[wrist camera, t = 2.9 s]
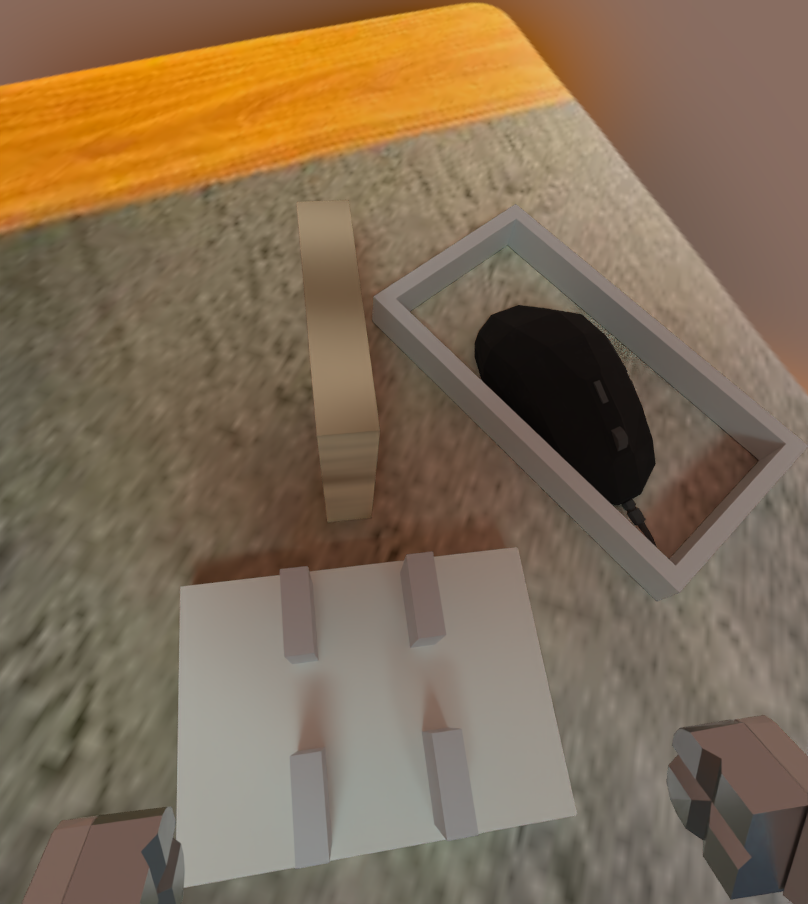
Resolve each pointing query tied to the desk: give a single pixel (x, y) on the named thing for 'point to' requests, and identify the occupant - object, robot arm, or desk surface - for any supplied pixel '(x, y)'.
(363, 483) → the tan upright panel
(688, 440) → the desk surface
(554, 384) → the gaming mouse
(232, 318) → the desk surface
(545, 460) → the mouse tray
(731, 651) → the desk surface
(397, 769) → the white slotted stand
